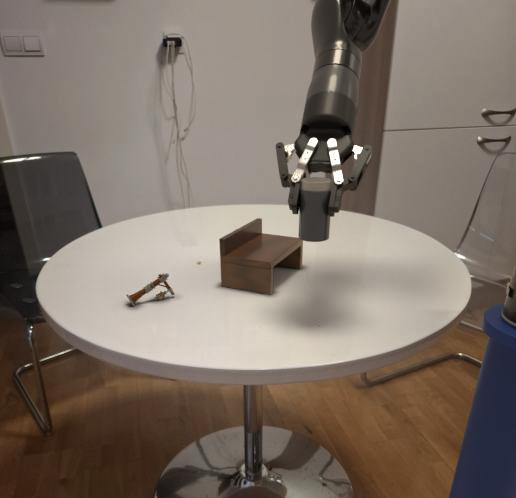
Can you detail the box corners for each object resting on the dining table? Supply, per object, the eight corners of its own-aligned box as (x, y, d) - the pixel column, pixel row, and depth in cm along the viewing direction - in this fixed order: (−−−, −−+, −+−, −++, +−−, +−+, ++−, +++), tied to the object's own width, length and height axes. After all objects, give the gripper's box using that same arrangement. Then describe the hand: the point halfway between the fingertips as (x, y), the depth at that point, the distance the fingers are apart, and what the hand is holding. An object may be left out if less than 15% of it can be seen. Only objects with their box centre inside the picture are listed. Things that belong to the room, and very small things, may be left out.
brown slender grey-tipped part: (180, 292, 86) (167, 271, 83) (141, 317, 85) (127, 297, 82) (176, 289, 88) (164, 268, 85) (138, 313, 86) (125, 293, 84)
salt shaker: (333, 235, 71) (336, 177, 67) (323, 243, 68) (326, 183, 64) (304, 231, 73) (306, 175, 69) (293, 239, 69) (295, 181, 66)
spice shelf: (302, 267, 100) (303, 223, 96) (270, 294, 88) (270, 245, 83) (257, 260, 104) (257, 218, 100) (221, 286, 91) (219, 238, 87)
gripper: (278, 88, 69) (257, 194, 65) (382, 88, 66) (366, 199, 62) (285, 126, 76) (266, 223, 72) (379, 128, 73) (365, 230, 69)
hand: (312, 211), depth 67 cm, fingers closed on salt shaker, 4 cm apart
